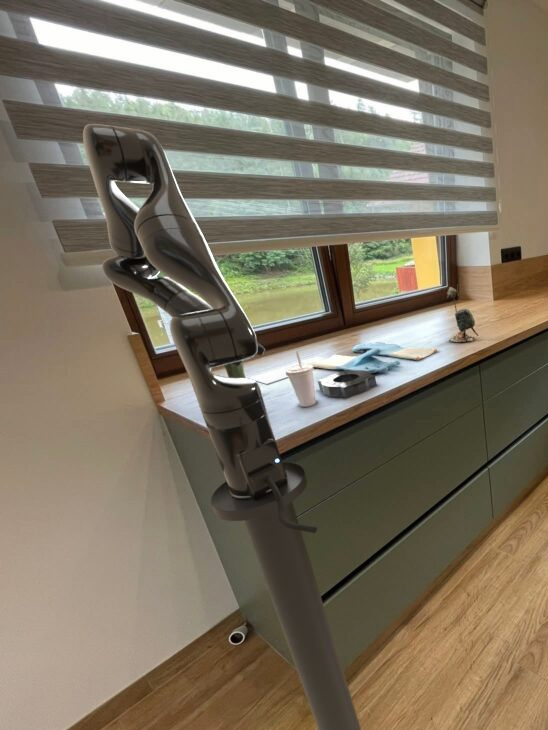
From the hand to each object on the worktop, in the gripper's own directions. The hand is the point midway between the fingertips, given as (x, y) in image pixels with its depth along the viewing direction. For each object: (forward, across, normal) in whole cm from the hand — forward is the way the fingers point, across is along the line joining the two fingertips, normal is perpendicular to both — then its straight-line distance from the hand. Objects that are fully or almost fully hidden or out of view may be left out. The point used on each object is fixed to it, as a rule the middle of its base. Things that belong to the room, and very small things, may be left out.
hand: (252, 357), depth 106 cm
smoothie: (+17, 0, +1) cm, 17 cm away
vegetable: (-2, +1, +6) cm, 7 cm away
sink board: (+22, +10, -3) cm, 24 cm away
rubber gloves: (+20, +36, -1) cm, 41 cm away
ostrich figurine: (+39, +55, -21) cm, 71 cm away
